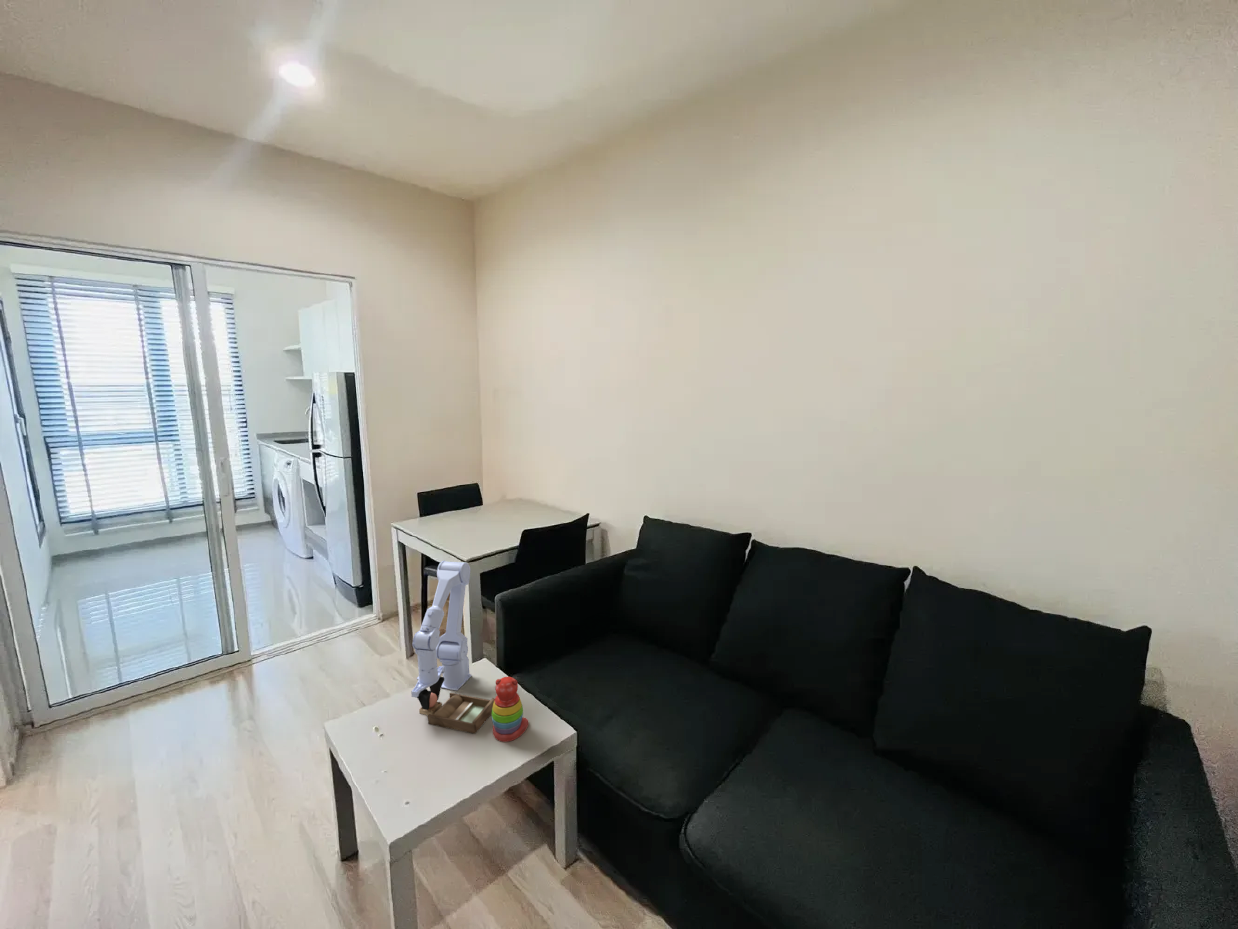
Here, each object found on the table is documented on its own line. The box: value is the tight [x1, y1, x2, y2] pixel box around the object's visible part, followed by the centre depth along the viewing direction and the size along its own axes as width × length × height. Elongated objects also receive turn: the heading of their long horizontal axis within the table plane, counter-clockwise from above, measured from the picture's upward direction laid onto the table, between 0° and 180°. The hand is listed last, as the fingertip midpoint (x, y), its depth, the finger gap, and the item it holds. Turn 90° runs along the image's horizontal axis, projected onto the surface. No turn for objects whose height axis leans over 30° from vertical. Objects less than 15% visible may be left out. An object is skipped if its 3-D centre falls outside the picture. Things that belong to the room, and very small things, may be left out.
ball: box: [429, 693, 438, 707], centre depth 161 cm, size 4×4×4 cm
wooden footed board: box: [419, 701, 443, 716], centre depth 162 cm, size 5×5×2 cm
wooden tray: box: [427, 692, 495, 735], centre depth 159 cm, size 12×17×7 cm
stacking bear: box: [491, 676, 530, 743], centre depth 151 cm, size 11×10×18 cm
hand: (430, 704), depth 162 cm, fingers closed on ball, 4 cm apart
